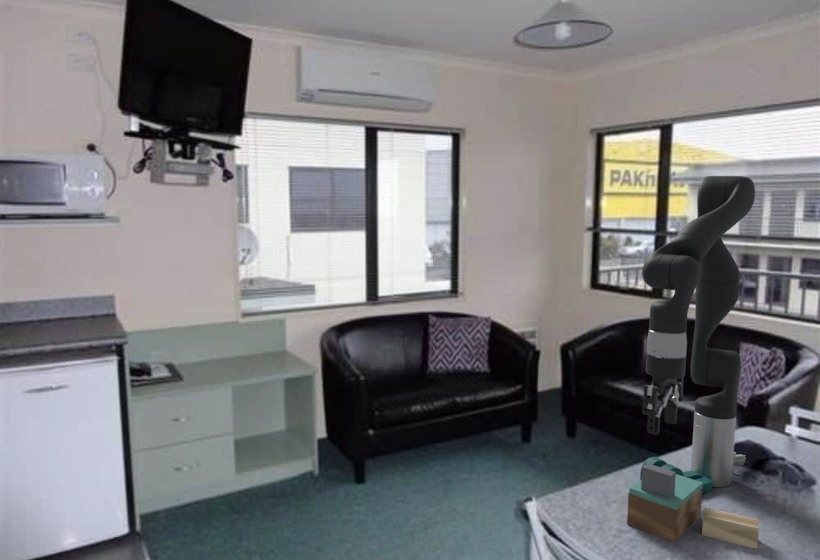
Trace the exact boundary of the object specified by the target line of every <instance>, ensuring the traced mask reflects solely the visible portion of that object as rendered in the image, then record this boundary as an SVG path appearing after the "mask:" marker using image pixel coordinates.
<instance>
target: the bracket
mask: <svg viewBox="0 0 820 560" xmlns="http://www.w3.org/2000/svg"><path fill="white" fill-rule="evenodd" d="M647 463H648V464H651V465H655V466H658V467H661V468H664V469H667V470H671V471H674V472H676V474H677V475H680V476H684V477H687V478H690V479H693V480H696V481H700V482H703V488H702V494H704V493H708V492H711V491H712V490H713V489H712V488H713V486H712V478H711V477H707V476H704V475H701V474H699V473H697V472H695V471H691V470H686V471H683V470H682V469H681V468H678V467H677V466H675V465H672V464H670V463H667V462H666V461H665V460H663V459H661V458H659V457H657V456H651V457H648V458H647V459H645V461H644V462H643V463H642V465H641V468H640V472H639V473H640V475H639V481H640V480H642V467H643V466H644V465H646V464H647Z"/></svg>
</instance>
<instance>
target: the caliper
mask: <svg viewBox="0 0 820 560" xmlns="http://www.w3.org/2000/svg"><path fill="white" fill-rule="evenodd" d="M745 456H746V455H744V454H737V452H736V451H734V454H733V468H732V474H734V475H735V472H736V470H737V466H739V467H741V466H742V467H743V466H744V465H745V464H746V462H745V460H746V457H745ZM744 463H745V464H744Z"/></svg>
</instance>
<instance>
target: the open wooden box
mask: <svg viewBox="0 0 820 560" xmlns="http://www.w3.org/2000/svg"><path fill="white" fill-rule="evenodd" d="M702 494H703V493H702V489H701V490H699V491H698V492H697V493H696V494H695V495H694V496H692V497H691V498H690V499H689V500H688V501H687V502H685V503H684V504H683V505H682V506H681V507H680V508H678V509H677V510H674V509H672V508H669V507H666V506H663V505H661V504H658V503H655V502H652V501H649V500H647V499H644V498H641V497H638V496H635V495H633V494H630V493H629V492H628V495H627V496H628V498H627V499H628V501H627V516H626V517H627V519H626V520H627V521H626V524H627V525H628V526H629V525H630V526H631V525H632V527H634V528H636V529H639V530H641V531H644V532H647V533H650V534H652V535H654V536H657V537H659V538H662V539H664V540H666V541H670V542H671V543H675V542H676V541H677V540H679V539H680V538H681V536H682V535H683V534H685V533H686V532H687V531H688V530H689V529H690V528H691V527H693V525H694V524H695V523H697V521H699V520H700V519H701V511H702V498H703V495H702Z"/></svg>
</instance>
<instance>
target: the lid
mask: <svg viewBox="0 0 820 560" xmlns="http://www.w3.org/2000/svg"><path fill="white" fill-rule="evenodd" d="M641 468H642V480H640V479H639V481H637V482H636V483H634V484H633V485H632V486H630V487H629V488H628V494H629V493H630V494H633V495H635V496H638V497H641V498H644V499H647V500H649V501H652V502H655V503H658V504H661V505H663V506H666V507H669V508H672V509H674V510H677V509H678V508H680V507H681V506H682V505H683V504H684V503H685V502H687V501H688V500H689V499H690V498H691V497H692V496H694V495H695V494H696V493H697V492H698V491H699V490H701V489H702V488H703V482H700V481H696V480H693V479H690V478H687V477H684V476H680V475H677V474H676V472H674V471H671V470H667V469H664V468H661V467H658V466H655V465H651V464H648V463H647V464H646V465H644V466H643V467H642V466H641Z"/></svg>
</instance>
